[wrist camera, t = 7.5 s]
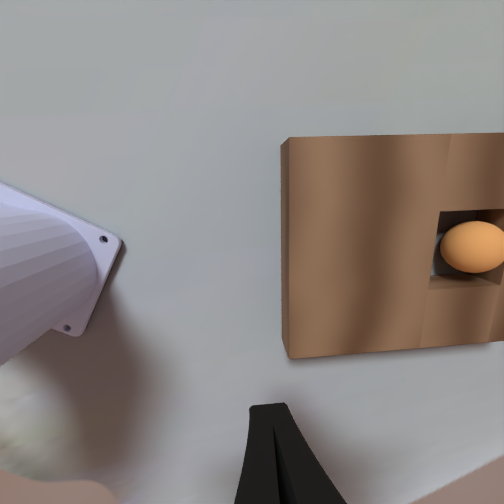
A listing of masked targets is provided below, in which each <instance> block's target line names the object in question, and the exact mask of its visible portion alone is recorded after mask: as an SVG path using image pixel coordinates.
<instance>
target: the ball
mask: <svg viewBox="0 0 504 504" xmlns="http://www.w3.org/2000/svg"><path fill="white" fill-rule="evenodd" d="M440 251H441V254H442V256H443V258H444V260H445V261H446V262H447V263H448V264H449V265H450V266H452V267H454V268H455V269H458V270H460V271H464V272H470V273H480V272H485V271H489V270H492V269H494V268H496V267H497V266H499V265H500V264H501V263H502V262H503V261H504V232H503V231H502V230H501V229H500V228H498V227H497V226H495V225H493V224H490V223H486V222H481V221H470V222H464V223H461V224H458V225H456V226H454V227H453V228H451V229H450V230H449V231H448V232H447V233H446V234H445V235H444V236H443V238H442V240H441V244H440Z"/></svg>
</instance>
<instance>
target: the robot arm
mask: <svg viewBox="0 0 504 504" xmlns="http://www.w3.org/2000/svg"><path fill="white" fill-rule="evenodd" d="M103 236H106V237H107V239H108V242H104V241H103V239H102V237H103ZM121 243H122V242H121V239H120V238H119V237H118V236H117V235H115V234H112V233H110V232H108V231H106V230H104V229H102V228H99V227H97V226H95V225H93V224H91V223H89V222H86V221H84V220H82V219H80V218H78V217H76V216H73V215H71V214H69V213H67V212H65V211H62V210H60V209H58V208H56V207H54V206H52V205H49V204H47V203H45V202H43V201H41V200H39V199H36V198H34V197H32V196H30V195H28V194H26V193H23V192H21V191H19V190H17V189H15V188H13V187H10V186H8V185H6V184H4V183H2V182H0V366H2V365H3V364H4V363H6V362H7V361H8V360H10V359H11V358H12V357H14V356H15V355H16V354H18V353H19V352H20V351H22V350H23V349H24V348H26V347H27V346H28V345H30V344H31V343H32V342H33V341H35V340H36V339H37V338H39V337H40V336H41V335H43V334H44V333H45V332H47V331H48V330H49V329H54V330H56V331H59V332H62V333H64V334H67V335H70V336H72V337H78V336H80V335H81V334H82V333H83V332H84V331H85V328H86V326H87V324H88V321H89V319H90V317H91V314H92V312H93V310H94V307H95V305H96V303H97V300H98V298H99V296H100V293H101V291H102V289H103V286H104V284H105V282H106V279H107V277H108V275H109V272H110V270H111V268H112V265H113V263H114V261H115V259H116V256H117V254H118V252H119V249H120V247H121ZM67 325H69V326H70V327H71V329H70V328H68V327H67ZM249 412H250V418H249V432H248V439H247V446H246V451H245V457H244V462H243V468H242V472H241V477H240V481H239V485H238V489H237V493H236V498H235V502H234V504H347V503H346V502H345V500H344V499H343V498H342V496H341V495H340V493H339V492H338V490H337V489H336V488H335V486H334V485H333V483H332V482H331V480H330V479H329V477H328V476H327V474H326V473H325V471H324V470H323V468H322V467H321V465H320V464H319V462H318V460H317V459H316V457H315V456H314V454H313V452H312V451H311V449H310V448H309V446H308V444H307V442H306V441H305V439H304V437H303V436H302V434H301V432H300V430H299V428H298V427H297V425H296V423H295V421H294V419H293V417H292V415H291V413H290V411H289V409H288V406H287V405H286V404H285V403H274V404H264V405H253V406H251V407H250V408H249Z"/></svg>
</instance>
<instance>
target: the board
mask: <svg viewBox="0 0 504 504" xmlns="http://www.w3.org/2000/svg"><path fill="white" fill-rule="evenodd" d="M461 210H478V213H477V219H476V221H481V222H486V223H490V224H493V225H495V226H497V227H498V228H500V229H501V230H502V231H503V232H504V133H465V134H418V135H370V136H323V137H289V138H288V139H287V140H286V141H285V142H284V143H283V144H282V145H281V282H282V340H283V343H284V346H285V349H286V351H287V354H288V357H289V359H295V358H307V357H319V356H331V355H343V354H354V353H366V352H378V351H390V350H402V349H413V348H425V347H437V346H449V345H461V344H472V343H484V342H496V341H504V261H503V262H502V263H501V264H500V265H499V266H497V267H496V268H494V269H492V270H489V271H485V272H480V273H470V272H467V273H466V274H450V275H434V276H430V274H431V268H432V261H433V254H434V247H435V241H436V234H437V227H438V221H439V214H440V211H461Z"/></svg>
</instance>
